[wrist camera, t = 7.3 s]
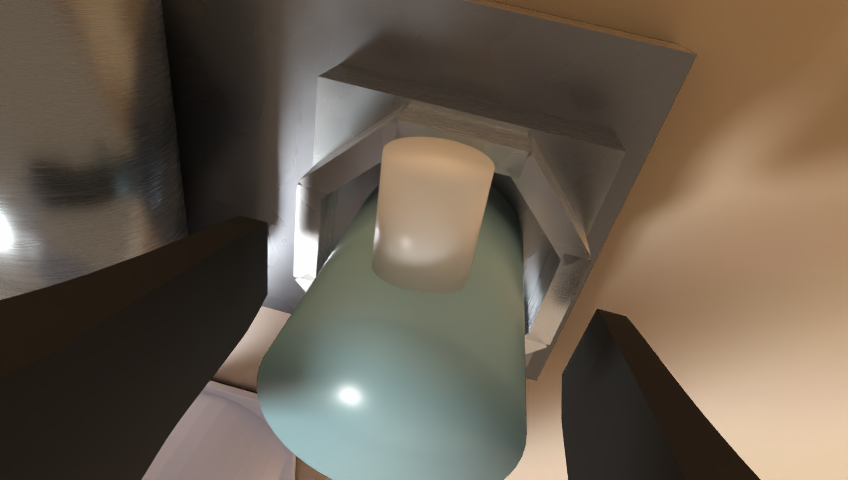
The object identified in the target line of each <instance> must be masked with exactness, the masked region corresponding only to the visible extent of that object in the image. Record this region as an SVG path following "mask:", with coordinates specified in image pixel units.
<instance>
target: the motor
mask: <svg viewBox="0 0 848 480" xmlns="http://www.w3.org/2000/svg"><path fill="white" fill-rule="evenodd" d="M696 55H697V54H695V53H693V52H691V51H689V50H687V49H686V48H684V47H682V46H680V45H678V44H675V43H671V42H666V41H662V40H658V39H653V38H649V37H645V36H640V35H636V34H632V33H628V32H623V31H619V30H615V29H610V28H606V27H602V26H597V25H593V24H589V23H584V22H580V21H576V20H571V19H567V18H563V17H559V16H554V15H550V14H546V13H541V12H537V11H533V10H528V9H524V8H520V7H515V6H511V5H507V4H502V3H498V2H494V1H490V0H0V300H2V299H6V298H10V297H13V296H17V295H20V294H24V293H27V292H31V291H34V290H38V289H41V288H45V287H48V286H52V285H55V284H58V283H62V282H65V281H68V280H71V279H74V278H77V277H80V276H83V275H86V274H89V273H92V272H95V271H98V270H100V269H103V268H106V267H109V266H111V265H114V264H117V263H120V262H122V261H125V260H128V259H131V258H134V257H136V256H139V255H142V254H144V253H147V252H150V251H152V250H155V249H157V248H160V247H162V246H164V245H167V244H169V243H172V242H174V241H177V240H179V239H182V238H184V237H187V236H189V235H192V234H194V233H196V232H199V231H201V230H204V229H206V228H209V227H211V226H214V225H216V224H219V223H221V222H224V221H226V220H229V219H232V218H235V217H238V216H241V215H242V216H245V217H249V218H253V219H257V220H261V221H264V222H268V295H267V297H266V299H265V300H264V302H263V304H262V306H264V307H268V308H272V309H275V310H279V311H283V312H286V313H290V314H292V313H293V311H294V310H295V308H296V307H297V305H298V304H299V302H300V301H301V299H302V298H303V296H304V294H305V293H306V291H307V290H308V288H309V287H310V285H311V284H312V282H313V281H314V279H315V278H316V276H317V274H318V273H319V271H320V270H321V268H322V267H323V265H324V264H325V262H326V261H327V259H328V257H329V256H330V254H331V253H332V251H333V250H334V248H335V247H336V245H337V244H338V242H339V241H340V239H341V237H342V236H343V234H344V233H345V231H346V230H347V228H348V227H349V225H350V224H351V222H352V221H353V219H354V217H355V216H356V214H357V213H358V211H359V210H360V208H361V207H362V205H363V204H364V202H365V201H366V199H367V198H368V196H369V195H370V193H371V192H372V191H373V190H374V189H375V188H376V187H377V186H378V185H379V182H380V172H381V161H382V151H383V148H384V146H385V145H386V144H388V143H389V142H391V141H393V140H396V139H400V138H405V137H435V138H442V139H447V140H452V141H456V142H459V143H462V144H466V145H468V146H471V147H473V148H475V149H477V150H479V151H481V152H482V153H484V154H485V155H487V156H488V157H489V158H490V159H491V160H492V162H493V163H494V166H495V169H494V174H493V178H492V182H491V186H492V187H493V188H495V189H496V190H497V191H498V192H499V193H500V194H501V195H502V196H503V197H504V198H505V199H506V201H507V202H508V203H509V204H510V206H511V207H512V209H513V211H514V212H515V214H516V216H517V219H518V221H519V223H520V227H521V231H522V236H523V258H524V314H525V369H526V378H529V379H532V380H537V378H538V376H539V374H540V372H541V370H542V368H543V366H544V364H545V362H546V360H547V358H548V356H549V354H550V352H551V350H552V348H553V346H554V344H555V342H556V340H557V338H558V336H559V334H560V332H561V330H562V328H563V326H564V324H565V322H566V320H567V317H568V315H569V313H570V311H571V309H572V307H573V305H574V303H575V301H576V299H577V297H578V295H579V293H580V291H581V289H582V287H583V285H584V283H585V281H586V279H587V277H588V275H589V273H590V271H591V269H592V267H593V265H594V263H595V261H596V259H597V257H598V254H599V252H600V250H601V248H602V246H603V244H604V242H605V240H606V238H607V236H608V234H609V232H610V230H611V228H612V226H613V224H614V222H615V220H616V218H617V216H618V214H619V212H620V210H621V208H622V206H623V204H624V202H625V200H626V198H627V196H628V194H629V191H630V189H631V187H632V185H633V183H634V181H635V179H636V177H637V175H638V173H639V171H640V169H641V167H642V165H643V163H644V161H645V159H646V157H647V155H648V153H649V151H650V149H651V147H652V145H653V143H654V141H655V139H656V137H657V135H658V133H659V131H660V128H661V126H662V124H663V122H664V120H665V118H666V116H667V114H668V112H669V110H670V108H671V106H672V104H673V102H674V100H675V98H676V96H677V94H678V92H679V90H680V88H681V86H682V84H683V82H684V80H685V78H686V76H687V74H688V72H689V70H690V68H691V65H692V63H693V61H694V59H695V57H696Z"/></svg>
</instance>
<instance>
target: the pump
mask: <svg viewBox="0 0 848 480" xmlns="http://www.w3.org/2000/svg"><path fill="white" fill-rule="evenodd" d="M494 169H495V166H494V163H493V162H492V160H491V159H490V158H489V157H488V156H487V155H485V154H484V153H482V152H481V151H479V150H477V149H475V148H473V147H471V146H468V145H466V144H462V143H459V142H456V141H452V140H447V139H442V138H435V137H405V138H400V139H396V140H393V141H391V142H389V143H388V144H386V145H385V146H384V148H383V151H382V161H381V172H380V182H379V185H378V186H377V187H376V188H375V189H374V190H373V191H372V192H371V193H370V195H369V196H368V198H367V199H366V201H365V202H364V204H363V205H362V207H361V208H360V210H359V211H358V213H357V214H356V216H355V217H354V219H353V221H352V222H351V224H350V225H349V227H348V228H347V230H346V231H345V233H344V234H343V236H342V237H341V239H340V241H339V242H338V244H337V245H336V247H335V248H334V250H333V251H332V253H331V254H330V256H329V257H328V259H327V261H326V262H325V264H324V265H323V267H322V268H321V270H320V271H319V273H318V274H317V276H316V278H315V279H314V281H313V282H312V284H311V285H310V287H309V288H308V290H307V291H306V293H305V294H304V296H303V298H302V299H301V301H300V302H299V304H298V305H297V307H296V308H295V310H294V311H293V313H292V314H291V316H290V318H289V319H288V321H287V322H286V324H285V325H284V327H283V328H282V330H281V331H280V333H279V334H278V336H277V338H276V339H275V341H274V342H273V344H272V345H271V347H270V348H269V350H268V351H267V353H266V355H265V356H264V358H263V360H262V362H261V365H260V367H259V371H258V376H257V395H258V400H259V404H260V407H261V410H262V413H263V415H264V417H265V419H266V420H267V422H268V424H269V426H270V427H271V429H272V430H273V432H274V433H275V434H276V436H277V437H278V438H279V439H280V440H281V441H282V443H283V444H284V445H285V446H286V447H287V448H288V449H289V450H290V451H291V452H292V453H294V454H295V455H296V456H297V457H298V458H300V459H301V460H302V461H303V462H305V463H306V464H307V465H309V466H310V467H312V468H313V469H315V470H316V471H318V472H320V473H321V474H323V475H325V476H327V477H329V478H330V479H332V480H504V479H505V478H506V477H507V476H508V475H509V474H510V473H511V472H512V471H513V470H514V468H515V467H516V466H517V464H518V462H519V461H520V459H521V457H522V455H523V451H524V448H525V445H526V435H527V424H526V369H525V314H524V258H523V236H522V231H521V227H520V223H519V221H518V219H517V216H516V214H515V212H514V211H513V209H512V207H511V206H510V204H509V203H508V202H507V201H506V199H505V198H504V197H503V196H502V195H501V194H500V193H499V192H498V191H497V190H496V189H495V188H493V187H492V186H491V182H492V178H493V174H494Z"/></svg>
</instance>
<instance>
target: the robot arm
mask: <svg viewBox="0 0 848 480" xmlns="http://www.w3.org/2000/svg"><path fill="white" fill-rule="evenodd" d="M267 295H268V222H264V221H261V220H257V219H253V218H249V217H245V216H242V215H241V216H238V217H235V218H232V219H229V220H226V221H224V222H221V223H219V224H216V225H214V226H211V227H209V228H206V229H204V230H201V231H199V232H196V233H194V234H192V235H189V236H187V237H184V238H182V239H179V240H177V241H174V242H172V243H169V244H167V245H164V246H162V247H160V248H157V249H155V250H152V251H150V252H147V253H144V254H142V255H139V256H136V257H134V258H131V259H128V260H125V261H122V262H120V263H117V264H114V265H111V266H109V267H106V268H103V269H100V270H98V271H95V272H92V273H89V274H86V275H83V276H80V277H77V278H74V279H71V280H68V281H65V282H62V283H58V284H55V285H52V286H48V287H45V288H41V289H38V290H34V291H31V292H27V293H24V294H20V295H17V296H13V297H10V298H6V299H2V300H0V480H295V471H296V455H295V454H294V453H292V452H291V451H290V450H289V449H288V448H287V447H286V446H285V445H284V444H283V443H282V441H281V440H280V439H279V438H278V437H277V436H276V434H275V433H274V432H273V430H272V429H271V427H270V426H269V424H268V422H267V420H266V419H265V417H264V415H263V413H262V410H261V407H260V404H259V400H258V395H257V394H256V393H253V392H249V391H246V390H242V389H239V388H235V387H232V386H228V385H224V384H221V383H217V382H214V381H210V380H211V379H212V377H213V376H214V375H215V373H216V372H217V371H218V369H219V368H220V367H221V365H222V364H223V363H224V362H225V360H226V359H227V358H228V356H229V355H230V354H231V352H232V351H233V350H234V348H235V347H236V346H237V344H238V343H239V342H240V340H241V339H242V337H243V336H244V335H245V333H246V332H247V330H248V329H249V327H250V325H251V323H252V322H253V320H254V318H255V317H256V315H257V313H258V311H259V309H260V308H261V306H262V304H263V302H264V300H265V299H266V297H267ZM562 429H563V438H564V447H565V456H566V465H567V473H568V480H760V479H759V477H758V476H757V475H756V474H755V473H754V472H753V471H752V470H751V469H750V468H749V467H748V466H747V464H746V463H745V462H744V461H743V460H742V459H741V458H740V457H739V455H738V454H737V453H736V452H735V451H734V450H733V449H732V447H731V446H730V445H729V444H728V443H727V442H726V440H725V439H724V438H723V437H722V436H721V435H720V434H719V432H718V431H717V430H716V429H715V428H714V427H713V425H712V424H711V423H710V422H709V421H708V419H707V418H706V417H705V416H704V415H703V413H702V412H701V411H700V410H699V408H698V407H697V406H696V405H695V404H694V402H693V401H692V400H691V399H690V397H689V396H688V395H687V394H686V392H685V391H684V390H683V388H682V387H681V386H680V385H679V383H678V382H677V381H676V379H675V378H674V377H673V376H672V374H671V373H670V372H669V370H668V369H667V368H666V367H665V365H664V364H663V363H662V361H661V360H660V359H659V357H658V356H657V355H656V353H655V352H654V351H653V350H652V348H651V347H650V346H649V344H648V343H647V342H646V340H645V339H644V338H643V337H642V335H641V334H640V333H639V331H638V330H637V329H636V328H635V326H634V325H633V324H632V323H631V322H630V320H629V319H628V318H627V317H626V316H622V315H618V314H615V313H611V312H607V311H603V310H599V309H597V310H596V312H595V314H594V316H593V317H592V319H591V321H590V323H589V325H588V327H587V329H586V331H585V332H584V334H583V336H582V338H581V340H580V342H579V344H578V346H577V347H576V349H575V351H574V353H573V355H572V357H571V359H570V361H569V362H568V364H567V366H566V368H565V370H564V372H563V374H562Z"/></svg>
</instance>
